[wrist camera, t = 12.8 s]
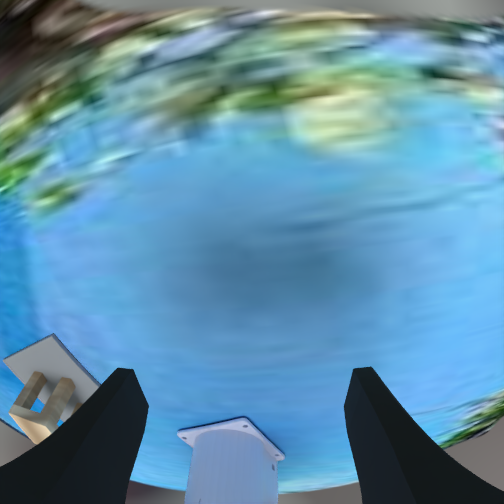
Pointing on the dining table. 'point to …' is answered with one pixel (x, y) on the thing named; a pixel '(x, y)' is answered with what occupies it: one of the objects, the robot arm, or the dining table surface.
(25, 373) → the slate mat
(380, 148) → the dining table surface
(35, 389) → the wooden u-frame
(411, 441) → the robot arm
